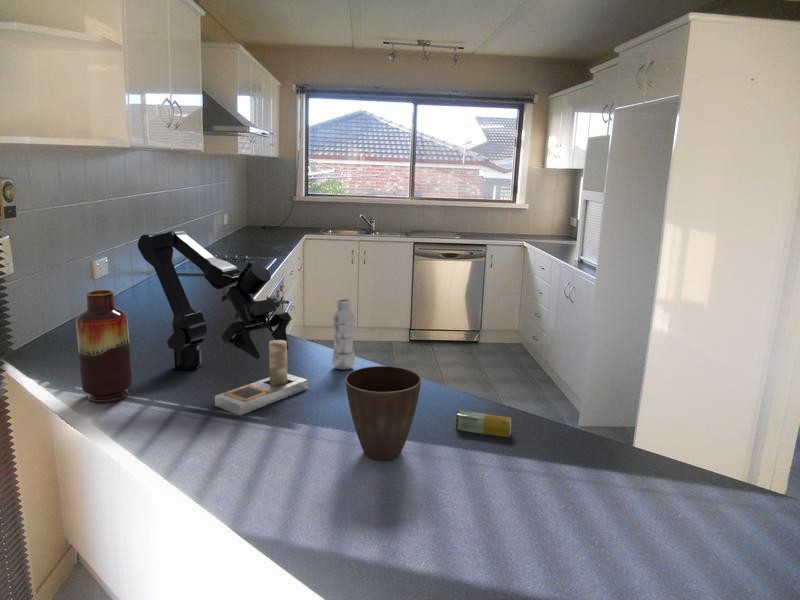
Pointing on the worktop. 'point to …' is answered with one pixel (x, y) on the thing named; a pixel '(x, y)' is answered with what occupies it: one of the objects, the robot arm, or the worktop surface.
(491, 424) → the medication box
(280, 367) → the maple peg
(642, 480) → the worktop surface
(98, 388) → the vase
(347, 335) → the plastic bottle
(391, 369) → the plant pot
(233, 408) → the white peg board
